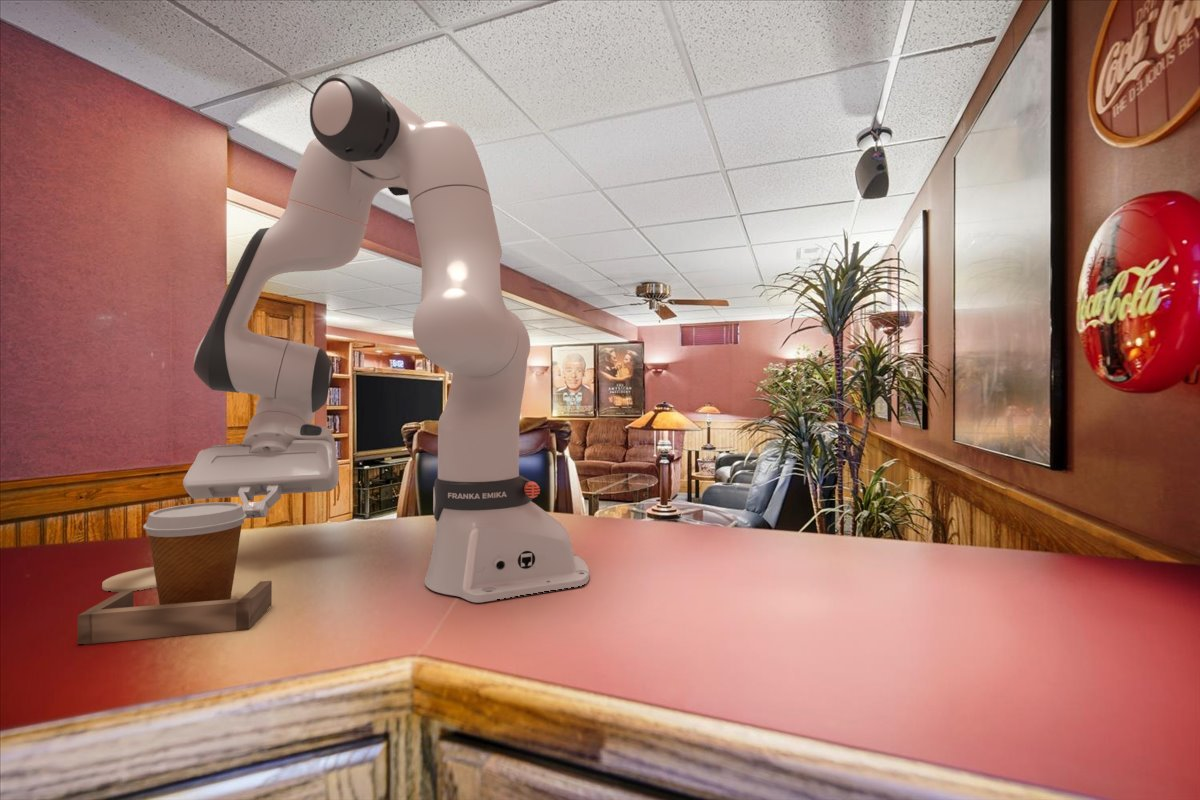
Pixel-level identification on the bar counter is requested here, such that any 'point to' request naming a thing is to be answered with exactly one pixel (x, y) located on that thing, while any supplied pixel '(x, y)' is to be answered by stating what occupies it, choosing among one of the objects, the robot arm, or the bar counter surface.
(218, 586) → the disposable coffee cup
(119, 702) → the bar counter surface
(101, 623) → the walnut bay
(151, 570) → the cork coaster
